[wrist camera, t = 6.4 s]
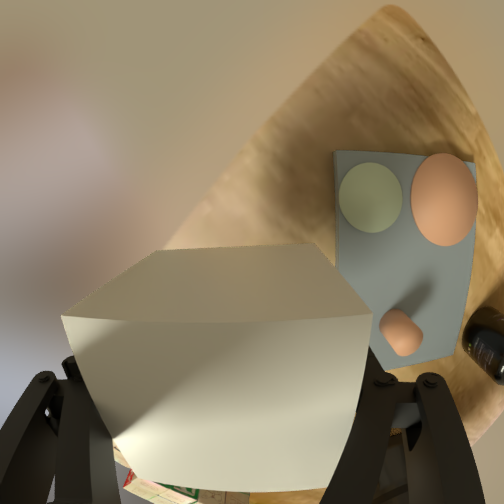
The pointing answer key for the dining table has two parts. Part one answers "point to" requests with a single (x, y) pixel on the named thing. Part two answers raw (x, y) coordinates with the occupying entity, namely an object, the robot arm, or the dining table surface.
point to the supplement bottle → (486, 342)
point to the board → (407, 247)
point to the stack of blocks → (176, 490)
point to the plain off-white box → (226, 365)
